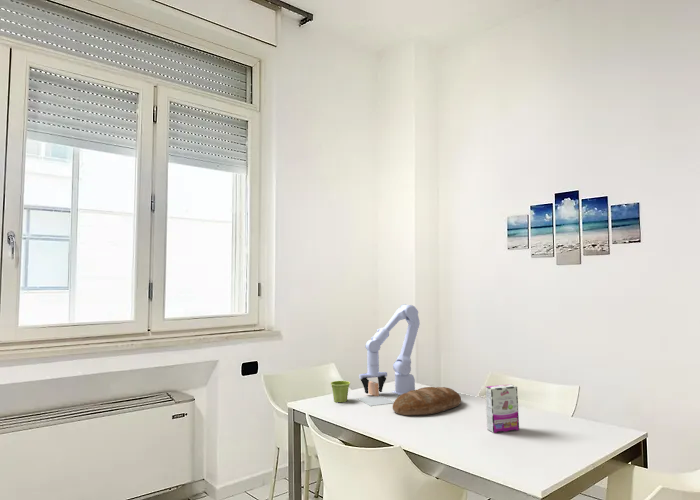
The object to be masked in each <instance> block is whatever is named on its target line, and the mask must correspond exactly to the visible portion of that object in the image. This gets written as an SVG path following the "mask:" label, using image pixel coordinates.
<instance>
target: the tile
mask: <svg viewBox="0 0 700 500" xmlns="http://www.w3.org/2000/svg"><path fill="white" fill-rule="evenodd" d="M368 394H369V395H372V396H379V395H380V392H379V383H378V382H375V381H371V380H369V383H368Z"/></svg>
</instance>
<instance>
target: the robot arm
mask: <svg viewBox="0 0 700 500" xmlns="http://www.w3.org/2000/svg"><path fill="white" fill-rule="evenodd" d="M403 320H405V321H406V322H407V324H408V326H407V328H406V332H405V335H404V338H403V339H404V340H403V343H402V345H401V349H400V354H398V356H396V357H397V358H396V360H395V362H394V363H393V364H392V368H393V371H394V389H395V390H392V391H391V392H392V393H393V394H395V395H398V396H400V395H402V394H404V393H407V392H409V391H411V390H416V384H415V383H416V382H415V377H414V375H413V374H412V373H411V371H412V367H411V366H412V365H411V364H412V359H411V356H412V352H413V348H414V345H415V342H416V339H417V336H418V335H417V334H418V331H419V328H420V325H421V324H420V318H419V310H418V308H416V306H414V305H412V304H406V303H405V304H401V305H400V307H399V308H397V309H396V311H395V312H394V313H393V315H392V317H391V318H390V319H389V320H388V322H387V323H386V324H385V326H384V327H380V328H377V329H376V333H375V334H373V336H371V337H370V339H369V340H367V342H366V343H365V347H364V348H365V350H366V351H367V352H366V353H367V354H366V358H367V359H366V360H367V361H366V362H367V363H366V364H367V365H366V366H367V368H366V369H367V372H366V373H360V374H358V378H359V380H360V382H361V384H362V385H363V389H364V393H365V394H367V395H368V394H369V390H368V383H369V381H370V380H369V379H372V378H377V381H378V382H377V383H378V388H379V393H382V392H383V388H384V385H385V383H386V380H387V377H388V372H387V371H380V364H379V363H380V360H379V359H380V355H379V351H380V350H381V346H382V345H383V343H384V342H385V341H386V339H388V337H389V336H390V331H391V330H392V329H394V328H395V326H396V325H397V324H398V323H399V322H400V321H403ZM410 373H411V374H410Z"/></svg>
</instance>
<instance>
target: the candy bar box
mask: <svg viewBox="0 0 700 500" xmlns="http://www.w3.org/2000/svg"><path fill="white" fill-rule="evenodd" d="M484 390H485V406H486V409H485V410H486V427H487V431H489V432H491V433H493V434H498V433H507V432H514V431H515V432H516V431H519V430H520V421H519V399H518V397H519V395H518V386H517V385H515V384H512V383H511V384H497V385H490V386H489V385H488V386H485V389H484Z"/></svg>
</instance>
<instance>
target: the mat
mask: <svg viewBox="0 0 700 500" xmlns="http://www.w3.org/2000/svg"><path fill="white" fill-rule="evenodd" d="M356 400H359V401H360V402H362V403H364V404H366V405H367V406H369V407H374V406H375V407H376V406H382V405H383V406H384V405H391V404H392V405H393V403H394V402H395V400H394V401H393V400H392V399H389V398H387V396H383V395H381V394H379V396H373V395H372V396H363V397H356Z"/></svg>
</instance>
